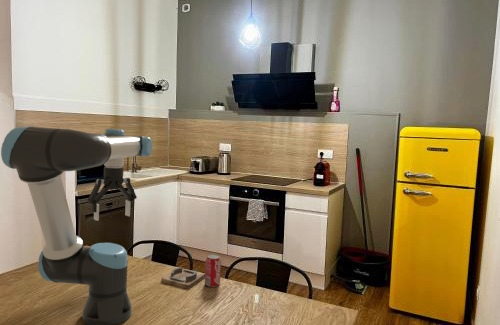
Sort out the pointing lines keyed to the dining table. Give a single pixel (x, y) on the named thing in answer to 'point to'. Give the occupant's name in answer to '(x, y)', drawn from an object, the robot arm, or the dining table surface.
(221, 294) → the dining table surface
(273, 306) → the dining table surface
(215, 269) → the beverage can
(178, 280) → the socket board
